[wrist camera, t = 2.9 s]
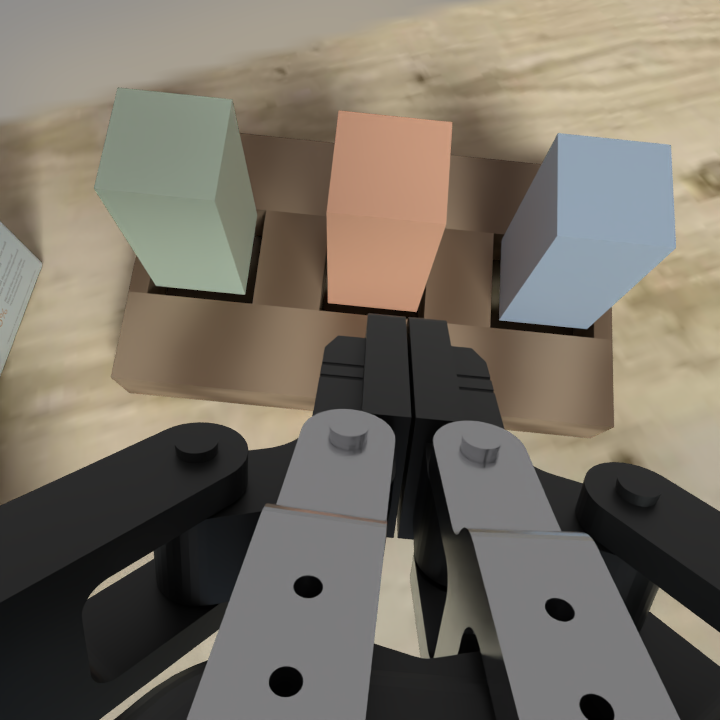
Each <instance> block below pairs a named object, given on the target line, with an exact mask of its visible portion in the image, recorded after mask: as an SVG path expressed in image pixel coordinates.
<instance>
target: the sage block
mask: <svg viewBox="0 0 720 720" xmlns="http://www.w3.org/2000/svg"><path fill="white" fill-rule="evenodd" d="M94 189H95V191H96V193H97V194H98V196H99V197H100V199H101V200H102V202H103V203H104V205H105V207H106V208H107V210H108V211H109V213H110V214H111V216H112V218H113V219H114V221H115V222H116V224H117V225H118V227H119V229H120V230H121V232H122V233H123V235H124V236H125V238H126V240H127V241H128V243H129V244H130V246H131V247H132V249H133V250H134V252H135V254H136V255H137V257H138V258H139V260H140V261H141V263H142V265H143V266H144V268H145V269H146V271H147V272H148V274H149V276H150V277H151V279H152V280H153V282H154V283H155V285H156V286H163V287H173V288H183V289H193V290H203V291H213V292H223V293H233V294H242V295H245V293H246V286H247V280H248V273H249V266H250V260H251V253H252V247H253V240H254V234H255V227H256V221H257V212H256V207H255V202H254V198H253V193H252V189H251V184H250V179H249V175H248V170H247V165H246V161H245V156H244V151H243V147H242V142H241V138H240V133H239V128H238V124H237V119H236V114H235V110H234V105H233V100H232V99H223V98H214V97H204V96H195V95H185V94H175V93H166V92H156V91H146V90H137V89H127V88H117V92H116V97H115V101H114V105H113V109H112V114H111V118H110V122H109V126H108V131H107V135H106V139H105V143H104V148H103V152H102V156H101V161H100V165H99V169H98V173H97V178H96V182H95V186H94Z"/></svg>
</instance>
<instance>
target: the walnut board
mask: <svg viewBox="0 0 720 720" xmlns="http://www.w3.org/2000/svg"><path fill="white" fill-rule="evenodd" d="M240 138H241V142H242V147H243V151H244V156H245V161H246V165H247V170H248V175H249V179H250V184H251V189H252V193H253V198H254V202H255V207H256V212H257V221H256V227H255V234H254V235H255V236H262V242H261V249H260V256H259V263H258V269H257V276H256V283H255V290H254V296H253V303H252V304H249V303H239V302H229V301H219V300H209V299H199V298H189V297H179V296H169V295H166V290H167V287H163V286H156V285H155V283H154V282H153V280H152V279H151V277H150V276H149V274H148V272H147V271H146V269H145V268H144V266H143V265H142V263H141V261H140V260H139V258H138V257H137V255H136V259H135V263H134V268H133V273H132V278H131V283H130V288H129V292H128V297H127V302H126V307H125V312H124V316H123V321H122V326H121V331H120V336H119V341H118V345H117V350H116V355H115V360H114V365H113V370H112V374H111V378H112V379H113V380H115V381H116V382H117V383H118V384H119V385H121V386H122V387H123V388H124V389H125V390H127V391H128V392H129V393H137V394H148V395H158V396H168V397H178V398H188V399H198V400H209V401H219V402H229V403H239V404H249V405H259V406H269V407H280V408H290V409H300V410H310V411H313V410H314V404H315V399H316V393H317V388H318V382H319V377H320V371H321V365H322V360H323V354H324V349H325V346H327V345H328V344H329V343H330V342H331V341H332V340H333V339H335V338H336V337H337V336H338V335H339V336H350V337H360V338H365V335H366V325H367V316H368V315H359V314H349V313H339V312H329V311H322V310H323V301H324V293H325V284H326V275H327V204H328V196H329V187H330V179H331V171H332V162H333V154H334V145H335V143H330V142H320V141H311V140H301V139H291V138H282V137H272V136H262V135H252V134H243V133H240ZM540 166H541V164H533V163H524V162H514V161H504V160H495V159H485V158H475V157H466V156H456V155H450V170H449V187H448V203H447V220H446V227H445V230H444V232H443V235H442V238H441V241H440V244H439V247H438V250H437V253H436V256H435V259H434V262H433V265H432V268H431V271H430V274H429V277H428V280H427V283H426V286H425V289H424V292H423V294H422V297H421V300H420V303H419V312H418V318H425V319H435V320H446V321H447V325H448V331H449V336H450V342H451V346H456V347H467V348H472V349H473V350H474V351H475V352H476V353H477V354H478V355H479V356H480V357H481V358H482V359H484V360H485V361H486V363H487V367H488V370H489V374H490V380H491V381H492V385H493V389H494V393H495V396H496V400H497V403H498V407H499V411H500V414H501V418H502V422H503V425H504V429H505V430H513V431H523V432H534V433H544V434H554V435H564V436H574V437H584V438H592V437H594V436H596V435H598V434H600V433H602V432H605V431H607V430H609V429H611V428H613V427H614V405H613V352H612V307H611V308H610V309H608V310H607V311H606V312H605V313H604V314H603V315H602V316H601V317H600V318H599V319H597V320H596V321H595V322H594V323H593V324H592V325H591V326H590V327H589V328H588V329H581V328H573V336H568V335H558V334H548V333H538V332H528V331H518V330H508V329H498V328H490V318H491V291H492V264H493V260H501V242H502V238H503V237H504V235H505V233H506V231H507V229H508V227H509V225H510V223H511V221H512V219H513V218H514V216H515V214H516V212H517V210H518V208H519V206H520V204H521V202H522V200H523V199H524V197H525V195H526V193H527V191H528V189H529V187H530V185H531V183H532V182H533V180H534V178H535V176H536V174H537V172H538V170H539V168H540ZM407 320H408V319H406V324H407Z"/></svg>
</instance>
